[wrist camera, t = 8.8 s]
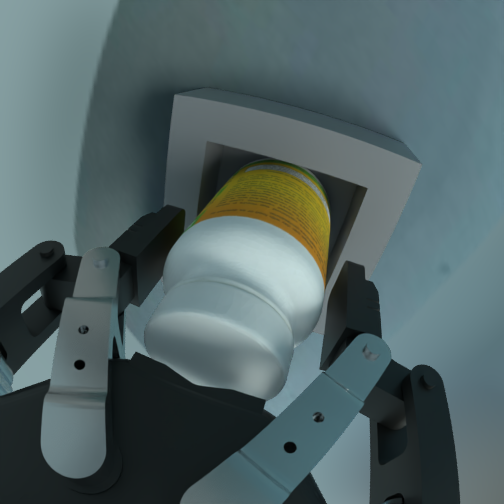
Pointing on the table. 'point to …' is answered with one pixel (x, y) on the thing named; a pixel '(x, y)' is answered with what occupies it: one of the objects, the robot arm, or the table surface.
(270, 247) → the supplement bottle
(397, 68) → the table surface
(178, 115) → the socket mount
